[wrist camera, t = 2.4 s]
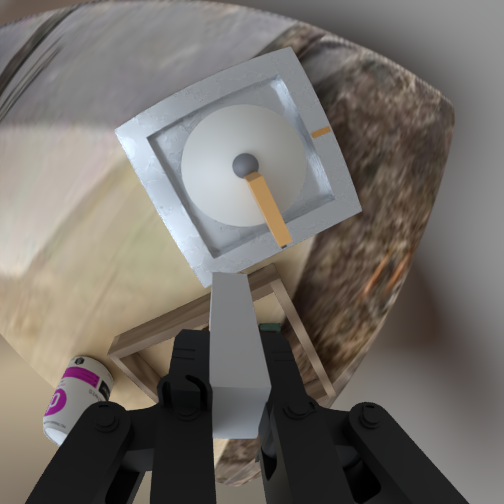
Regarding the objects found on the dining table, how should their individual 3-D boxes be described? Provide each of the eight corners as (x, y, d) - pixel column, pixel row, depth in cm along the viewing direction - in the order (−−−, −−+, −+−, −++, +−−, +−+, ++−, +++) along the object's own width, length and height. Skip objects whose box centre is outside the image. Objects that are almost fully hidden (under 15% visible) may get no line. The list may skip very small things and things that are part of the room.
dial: (163, 141, 24) (145, 139, 18) (271, 89, 24) (287, 72, 18) (221, 247, 29) (222, 275, 23) (321, 198, 29) (348, 213, 22)
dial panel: (118, 130, 25) (107, 129, 22) (285, 50, 23) (293, 40, 20) (204, 280, 32) (202, 294, 29) (354, 206, 31) (367, 213, 28)
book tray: (115, 336, 34) (106, 355, 30) (272, 262, 32) (279, 278, 29) (204, 423, 43) (204, 440, 39) (328, 377, 41) (336, 394, 38)
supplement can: (63, 361, 35) (31, 427, 21) (89, 347, 34) (55, 422, 20) (95, 391, 38) (74, 458, 24) (124, 380, 37) (104, 456, 23)
